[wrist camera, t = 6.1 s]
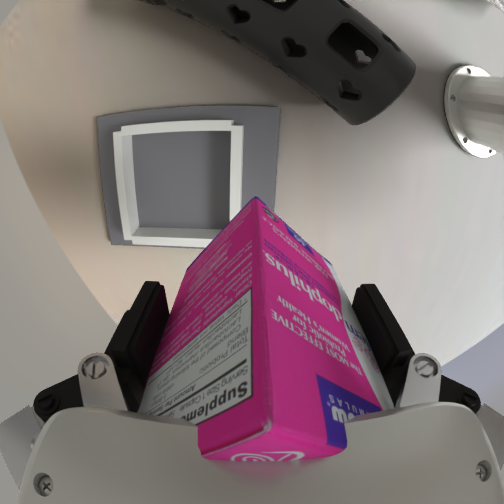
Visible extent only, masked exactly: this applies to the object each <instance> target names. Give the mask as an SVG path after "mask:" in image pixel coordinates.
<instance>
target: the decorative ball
mask: <svg viewBox="0 0 504 504" xmlns="http://www.w3.org/2000/svg"><path fill="white" fill-rule="evenodd" d="M487 1H488V2H489V3H491V4H492V5H493V6H495V7H496V8H498V9H499V10H501V11H502V12H503V13H504V0H487Z"/></svg>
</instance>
